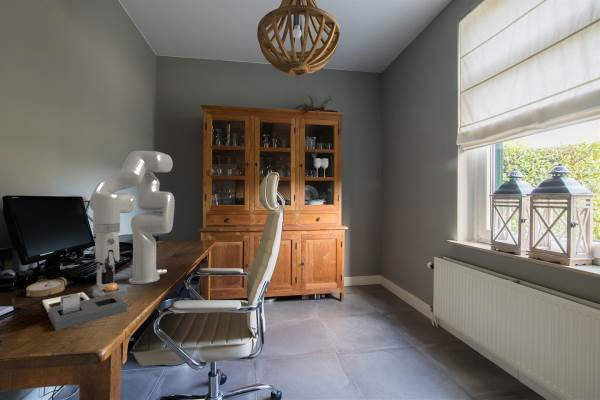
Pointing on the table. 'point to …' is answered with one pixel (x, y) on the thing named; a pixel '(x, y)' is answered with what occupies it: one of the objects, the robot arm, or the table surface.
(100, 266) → the billet
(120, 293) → the button housing
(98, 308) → the grey slotted frame
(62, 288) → the alarm clock
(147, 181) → the robot arm
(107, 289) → the button cap
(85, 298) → the tray
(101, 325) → the table surface
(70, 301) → the block
